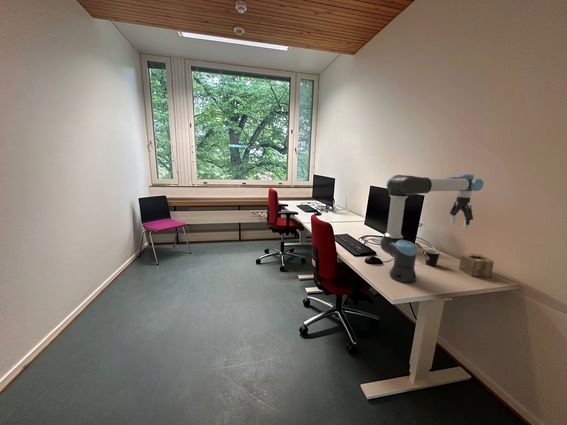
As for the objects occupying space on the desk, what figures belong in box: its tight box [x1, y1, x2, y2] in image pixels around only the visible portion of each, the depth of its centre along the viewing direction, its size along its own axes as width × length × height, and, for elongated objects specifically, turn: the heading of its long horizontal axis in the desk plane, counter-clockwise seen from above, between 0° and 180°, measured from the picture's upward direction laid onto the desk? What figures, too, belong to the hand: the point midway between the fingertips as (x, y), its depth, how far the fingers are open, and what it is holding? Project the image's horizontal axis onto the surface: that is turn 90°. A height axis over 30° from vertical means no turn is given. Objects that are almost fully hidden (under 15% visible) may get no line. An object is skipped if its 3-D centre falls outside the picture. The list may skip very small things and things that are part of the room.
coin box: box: [458, 253, 495, 278], centre depth 156 cm, size 12×12×11 cm
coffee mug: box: [422, 249, 440, 267], centre depth 170 cm, size 12×9×10 cm
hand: (458, 226), depth 164 cm, fingers open, 13 cm apart
